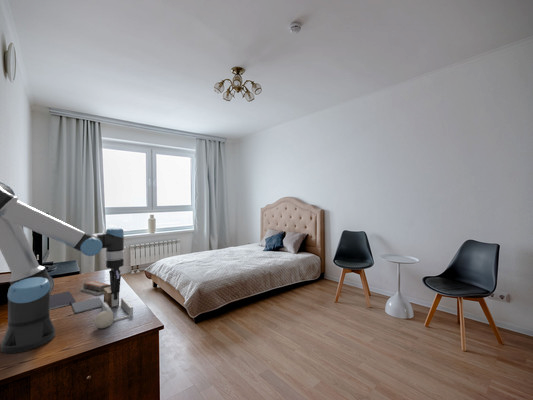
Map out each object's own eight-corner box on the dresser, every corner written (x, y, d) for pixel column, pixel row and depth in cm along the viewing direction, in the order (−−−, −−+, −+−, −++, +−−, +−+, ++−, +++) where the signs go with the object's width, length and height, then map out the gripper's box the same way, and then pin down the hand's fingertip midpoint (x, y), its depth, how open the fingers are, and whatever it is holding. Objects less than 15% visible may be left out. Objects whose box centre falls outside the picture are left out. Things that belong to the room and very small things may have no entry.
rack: (110, 322, 111) (110, 313, 111) (102, 310, 123) (102, 302, 123) (133, 316, 117) (133, 307, 117) (123, 305, 129) (123, 297, 129)
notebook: (40, 300, 136) (43, 312, 122) (40, 297, 136) (43, 309, 122) (69, 293, 145) (76, 304, 131) (69, 291, 145) (76, 301, 131)
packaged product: (79, 283, 149) (96, 278, 158) (79, 291, 149) (96, 286, 158) (97, 288, 142) (114, 282, 151) (97, 296, 142) (114, 290, 151)
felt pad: (75, 313, 119) (75, 312, 119) (71, 304, 129) (71, 303, 129) (104, 306, 127) (104, 305, 127) (98, 298, 137) (98, 297, 137)
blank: (107, 308, 124) (107, 293, 124) (103, 302, 132) (103, 288, 132) (119, 306, 128) (119, 290, 128) (114, 300, 135) (114, 285, 135)
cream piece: (95, 325, 109) (95, 309, 109) (114, 322, 111) (114, 307, 111) (91, 332, 102) (91, 316, 102) (111, 329, 105) (111, 313, 105)
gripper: (126, 259, 122) (126, 307, 122) (120, 255, 131) (120, 299, 131) (109, 262, 117) (109, 312, 117) (103, 257, 126) (103, 303, 126)
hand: (114, 305), depth 124 cm, fingers closed
